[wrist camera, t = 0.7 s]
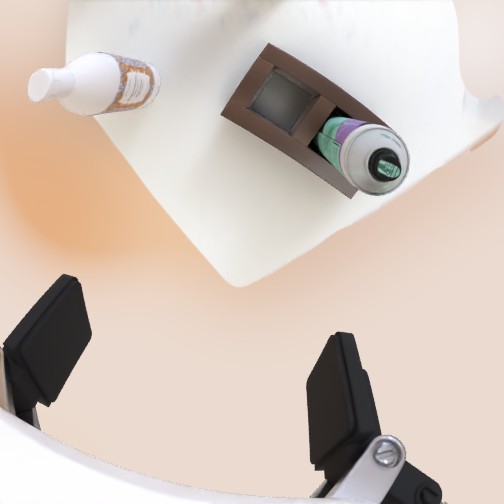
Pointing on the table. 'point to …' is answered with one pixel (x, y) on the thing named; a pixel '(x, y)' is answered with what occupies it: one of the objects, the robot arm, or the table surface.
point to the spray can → (364, 154)
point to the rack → (308, 122)
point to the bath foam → (97, 84)
